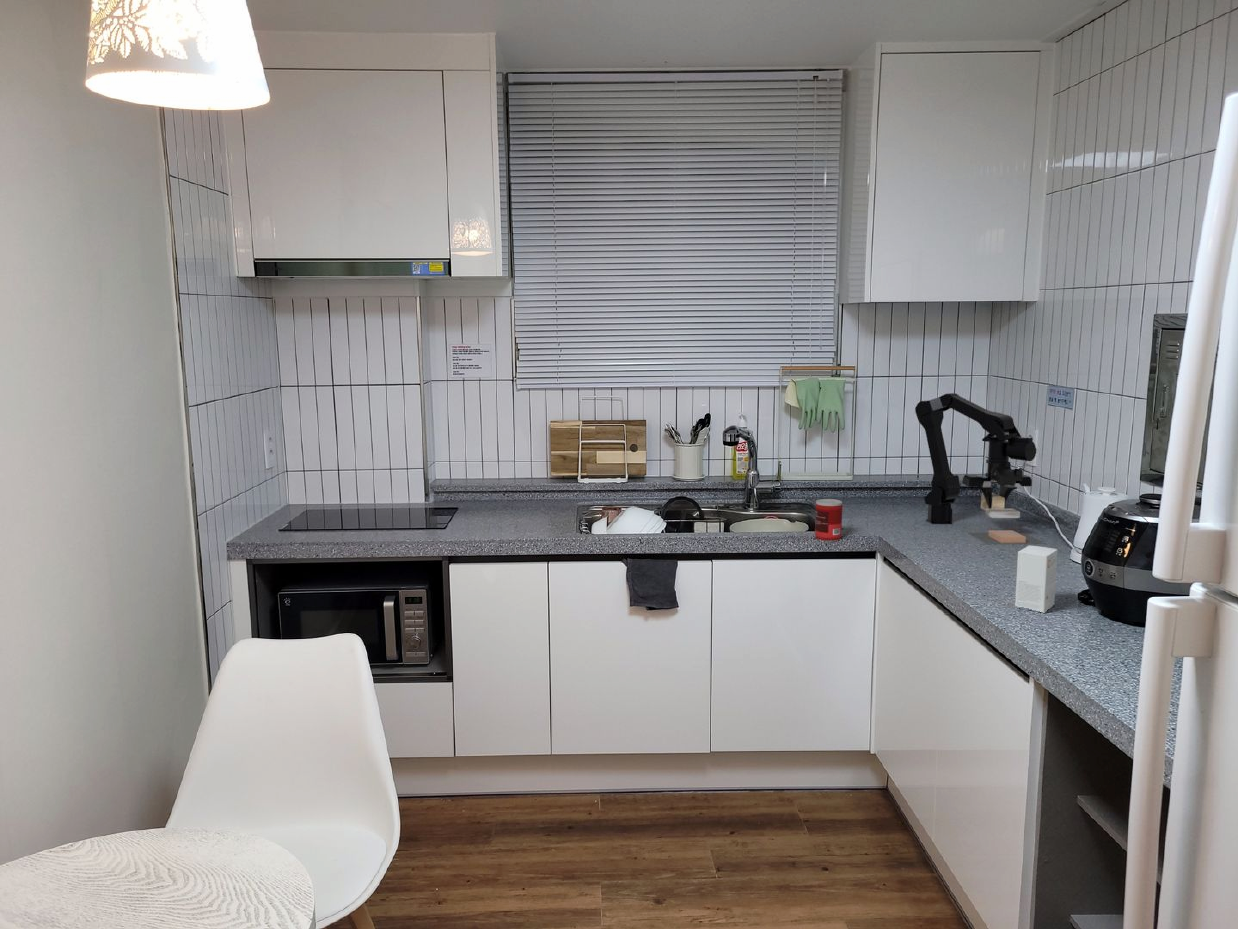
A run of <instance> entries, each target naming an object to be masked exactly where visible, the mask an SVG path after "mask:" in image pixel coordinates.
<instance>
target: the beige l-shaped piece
mask: <svg viewBox="0 0 1238 929" xmlns="http://www.w3.org/2000/svg"><path fill="white" fill-rule="evenodd" d="M980 492H981V495H980V496H981V497H980V509H981V510H982V511H985V515H986V516H987V517H989V518H992V519H1018V518H1020V517H1021V511H1019V510H1016V509H1015V508H1005V505H1006V502H1005V498H1004V497H1001V496H1000V494H999V495H998V494H996V493H994V492H992V508H991V509H989V508H988V505H987V502H986V500H985V497H984V495H983V493H982V491H980Z"/></svg>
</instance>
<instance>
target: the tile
mask: <svg viewBox="0 0 1238 929" xmlns="http://www.w3.org/2000/svg"><path fill="white" fill-rule="evenodd" d="M988 533H989V534H988V536H989V537H991V538H993V539H995V540H997V541H999V542H1000V543H1026V537H1025V536H1023V535H1021V534H1019V533H1020V532H1018V531H1014V530H1010V529H1007V530H1006V529H1005V530H1004V529H1003V530H988Z"/></svg>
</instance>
